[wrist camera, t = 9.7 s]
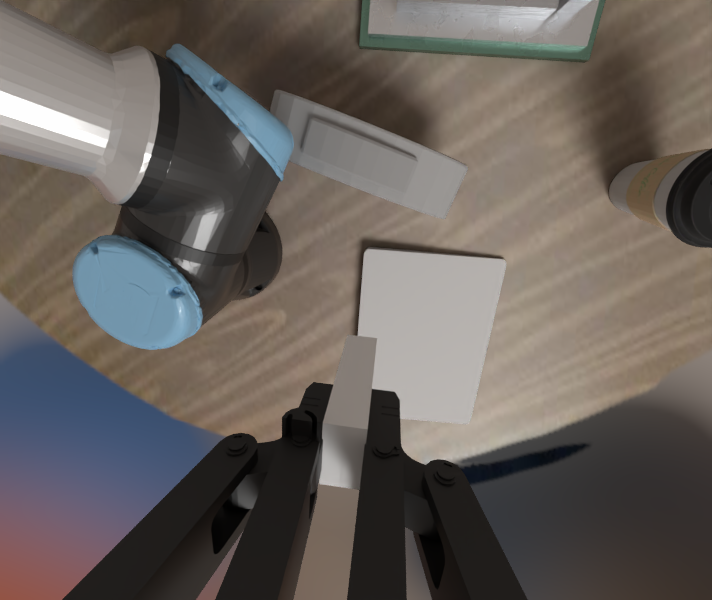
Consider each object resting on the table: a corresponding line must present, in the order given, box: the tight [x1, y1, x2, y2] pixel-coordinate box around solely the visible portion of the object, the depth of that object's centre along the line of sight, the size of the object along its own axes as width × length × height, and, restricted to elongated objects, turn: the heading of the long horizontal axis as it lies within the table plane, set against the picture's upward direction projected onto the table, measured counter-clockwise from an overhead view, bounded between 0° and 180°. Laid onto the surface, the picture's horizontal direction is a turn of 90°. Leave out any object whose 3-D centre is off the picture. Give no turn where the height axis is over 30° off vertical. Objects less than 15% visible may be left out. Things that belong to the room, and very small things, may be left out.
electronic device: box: [358, 247, 506, 424], centre depth 55 cm, size 29×20×2 cm
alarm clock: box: [270, 90, 468, 219], centre depth 41 cm, size 23×6×13 cm, turn 70°
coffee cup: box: [609, 149, 712, 248], centre depth 38 cm, size 9×9×15 cm
